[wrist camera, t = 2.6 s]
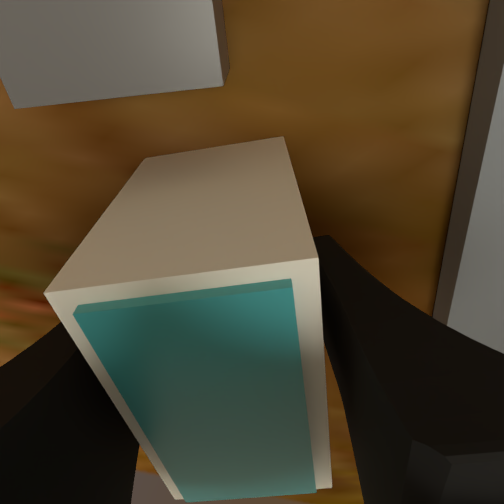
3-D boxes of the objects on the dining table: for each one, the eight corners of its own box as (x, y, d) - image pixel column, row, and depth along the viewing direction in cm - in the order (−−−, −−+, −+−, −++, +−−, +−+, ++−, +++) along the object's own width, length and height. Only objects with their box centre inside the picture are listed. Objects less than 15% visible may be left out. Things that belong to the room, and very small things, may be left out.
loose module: (301, 315, 14) (333, 497, 8) (201, 327, 14) (173, 508, 9) (283, 135, 10) (321, 266, 5) (145, 157, 10) (36, 302, 5)
